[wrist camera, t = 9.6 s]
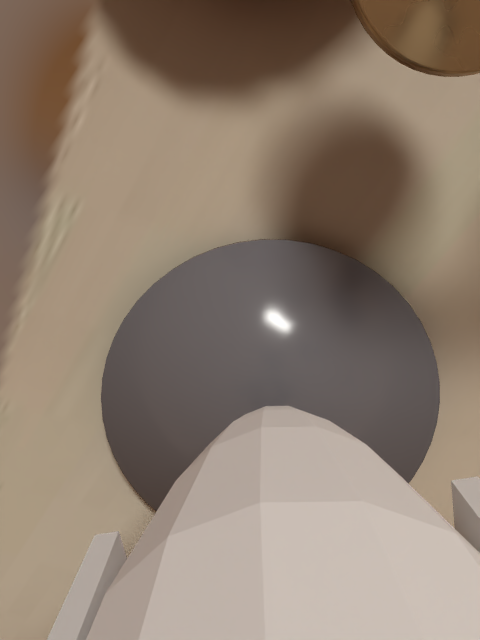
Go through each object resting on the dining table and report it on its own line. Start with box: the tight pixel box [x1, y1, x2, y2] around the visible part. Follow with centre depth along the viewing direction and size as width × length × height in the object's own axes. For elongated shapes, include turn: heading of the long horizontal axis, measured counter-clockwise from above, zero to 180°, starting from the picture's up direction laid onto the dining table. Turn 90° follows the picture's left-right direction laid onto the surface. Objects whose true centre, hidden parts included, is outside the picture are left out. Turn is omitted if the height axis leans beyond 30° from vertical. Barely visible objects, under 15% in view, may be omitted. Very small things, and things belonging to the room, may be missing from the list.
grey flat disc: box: [101, 239, 440, 511], centre depth 22 cm, size 17×17×1 cm
